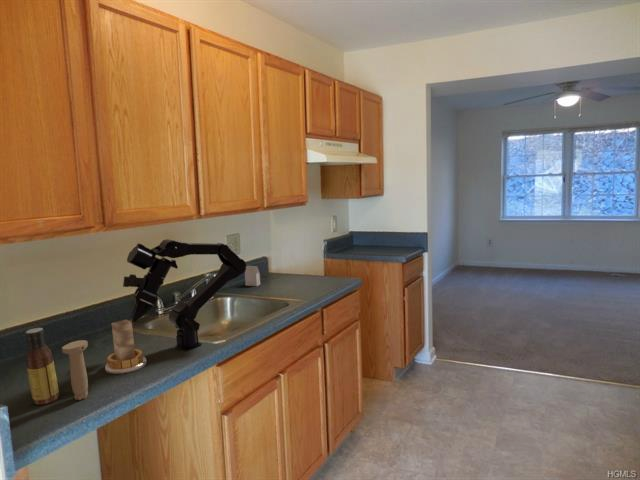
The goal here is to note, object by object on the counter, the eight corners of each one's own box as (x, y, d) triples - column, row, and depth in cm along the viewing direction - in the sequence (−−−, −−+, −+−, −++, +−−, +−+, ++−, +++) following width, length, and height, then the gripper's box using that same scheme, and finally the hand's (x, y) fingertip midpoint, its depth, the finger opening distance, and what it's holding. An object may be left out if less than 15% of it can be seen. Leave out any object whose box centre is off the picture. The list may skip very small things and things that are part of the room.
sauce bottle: (53, 392, 132) (44, 324, 129) (63, 399, 128) (54, 328, 125) (27, 402, 127) (17, 330, 124) (37, 409, 123) (26, 335, 120)
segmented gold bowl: (132, 355, 157) (131, 345, 156) (154, 362, 150) (153, 352, 149) (97, 368, 147) (96, 358, 146) (119, 377, 140) (118, 365, 139)
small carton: (256, 286, 245) (255, 267, 244) (245, 285, 248) (244, 266, 246) (260, 284, 248) (259, 265, 247) (249, 283, 251) (247, 265, 250)
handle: (64, 402, 125) (57, 348, 123) (83, 391, 132) (76, 339, 129) (79, 404, 124) (72, 349, 122) (97, 393, 130) (91, 340, 128)
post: (130, 358, 151) (126, 319, 149) (135, 362, 148) (131, 322, 146) (115, 363, 148) (111, 323, 146) (121, 367, 145) (116, 326, 143)
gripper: (131, 264, 160) (108, 307, 156) (133, 264, 142) (107, 312, 139) (162, 278, 163) (141, 320, 160) (167, 280, 146) (143, 327, 143)
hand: (133, 320), depth 150 cm, fingers open, 9 cm apart
